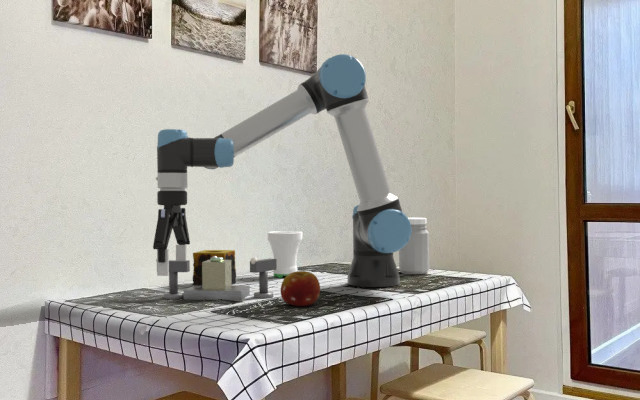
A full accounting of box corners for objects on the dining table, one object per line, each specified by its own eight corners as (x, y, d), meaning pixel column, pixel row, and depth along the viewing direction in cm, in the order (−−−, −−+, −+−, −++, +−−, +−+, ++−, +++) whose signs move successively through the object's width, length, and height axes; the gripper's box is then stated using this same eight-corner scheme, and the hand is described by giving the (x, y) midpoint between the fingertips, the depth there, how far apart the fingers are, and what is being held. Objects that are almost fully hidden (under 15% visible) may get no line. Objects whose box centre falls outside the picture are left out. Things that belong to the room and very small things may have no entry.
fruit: (288, 310, 156) (288, 275, 156) (275, 304, 164) (274, 271, 164) (326, 306, 160) (326, 273, 160) (311, 301, 168) (311, 268, 168)
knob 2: (266, 293, 179) (265, 254, 179) (280, 295, 176) (280, 255, 176) (244, 298, 172) (244, 257, 172) (259, 300, 169) (259, 258, 169)
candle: (225, 288, 192) (225, 253, 191) (191, 287, 194) (191, 252, 193) (237, 283, 202) (236, 249, 201) (205, 282, 204) (204, 249, 203)
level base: (249, 294, 178) (249, 254, 178) (241, 300, 169) (241, 257, 169) (194, 294, 180) (194, 254, 180) (183, 299, 171) (183, 257, 171)
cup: (309, 275, 217) (309, 231, 216) (289, 279, 207) (289, 233, 207) (281, 273, 223) (280, 230, 222) (260, 277, 213) (260, 232, 213)
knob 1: (191, 296, 176) (191, 256, 176) (185, 299, 171) (185, 257, 171) (160, 295, 177) (159, 255, 177) (153, 298, 172) (152, 257, 172)
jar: (408, 270, 229) (407, 217, 228) (434, 272, 223) (433, 217, 223) (393, 273, 221) (393, 218, 220) (420, 275, 215) (420, 219, 215)
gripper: (174, 189, 187) (174, 266, 187) (139, 189, 162) (139, 278, 162) (201, 189, 186) (201, 267, 186) (169, 189, 161) (169, 278, 161)
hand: (172, 272), depth 174 cm, fingers open, 13 cm apart
